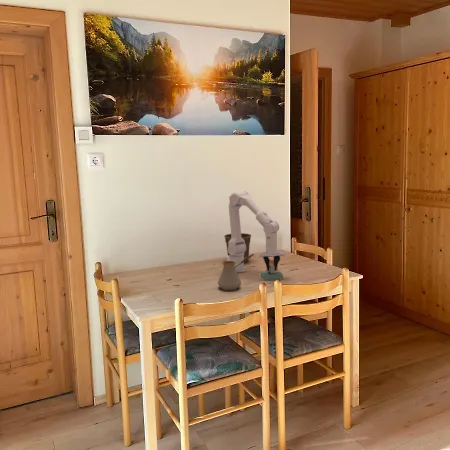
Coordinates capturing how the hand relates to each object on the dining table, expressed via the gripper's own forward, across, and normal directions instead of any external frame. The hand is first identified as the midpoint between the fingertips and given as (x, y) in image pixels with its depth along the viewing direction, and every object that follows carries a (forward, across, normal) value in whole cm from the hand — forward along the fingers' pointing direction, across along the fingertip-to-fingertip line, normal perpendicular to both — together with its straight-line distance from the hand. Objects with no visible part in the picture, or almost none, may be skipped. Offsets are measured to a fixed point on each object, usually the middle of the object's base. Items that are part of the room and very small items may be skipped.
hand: (271, 270), depth 242 cm
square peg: (+4, +4, +12) cm, 13 cm away
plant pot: (+4, -11, +38) cm, 40 cm away
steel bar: (+4, 0, 0) cm, 4 cm away
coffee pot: (+4, -20, -11) cm, 23 cm away
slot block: (+4, 0, 0) cm, 4 cm away
